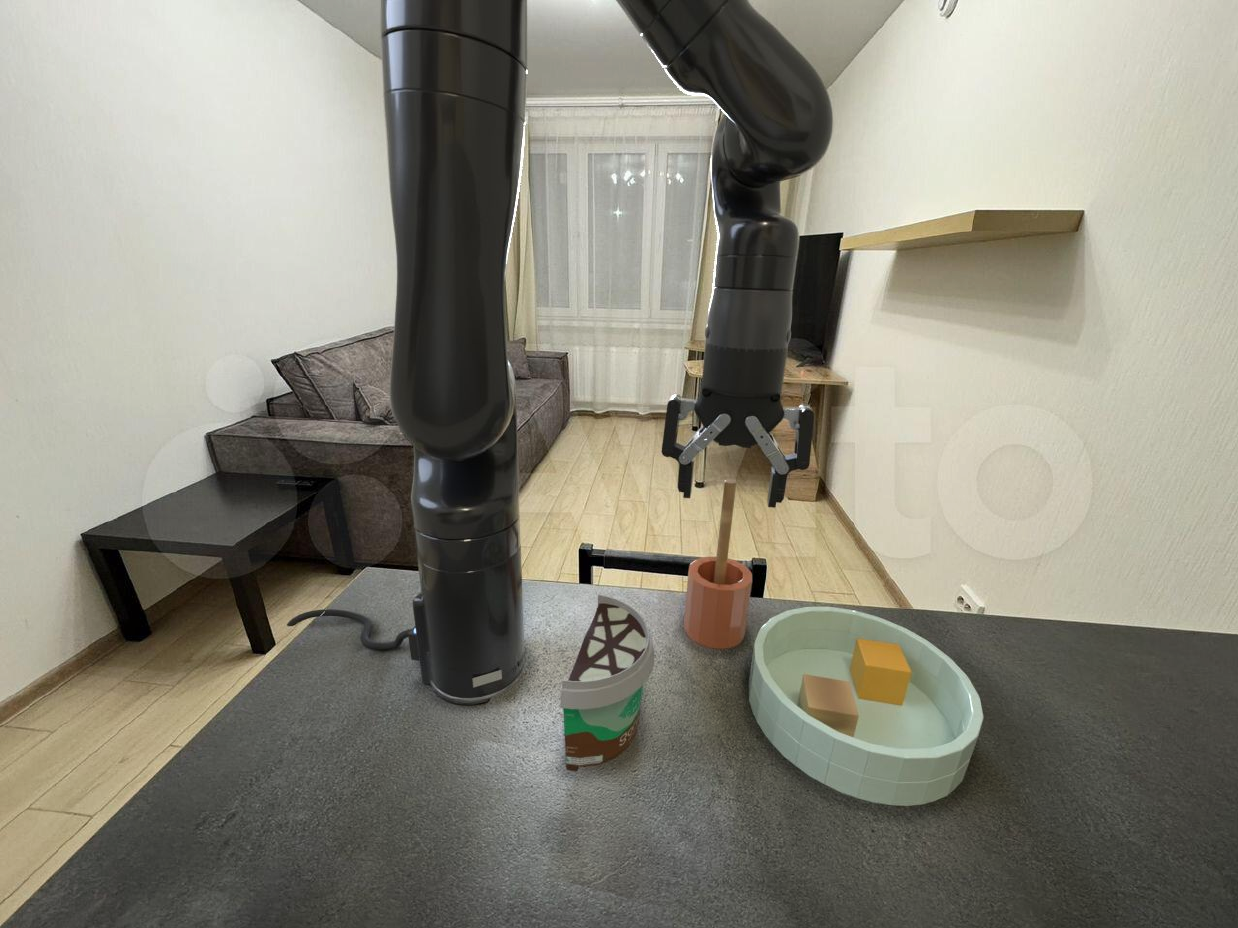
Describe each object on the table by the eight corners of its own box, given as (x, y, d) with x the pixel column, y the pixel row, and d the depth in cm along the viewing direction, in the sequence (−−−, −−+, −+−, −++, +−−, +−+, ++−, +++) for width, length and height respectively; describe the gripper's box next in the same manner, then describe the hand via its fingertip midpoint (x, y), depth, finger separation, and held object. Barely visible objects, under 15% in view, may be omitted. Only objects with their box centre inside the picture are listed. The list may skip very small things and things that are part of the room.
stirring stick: (708, 629, 59) (724, 482, 53) (709, 622, 60) (724, 478, 54) (719, 631, 59) (736, 483, 53) (719, 624, 60) (736, 479, 54)
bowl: (750, 782, 42) (758, 730, 40) (746, 636, 59) (752, 595, 57) (1006, 835, 39) (1029, 781, 37) (924, 664, 56) (936, 621, 54)
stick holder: (680, 647, 57) (686, 584, 54) (686, 610, 64) (691, 552, 61) (744, 658, 56) (753, 594, 53) (743, 619, 62) (751, 560, 60)
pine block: (801, 742, 45) (808, 706, 44) (796, 707, 49) (803, 673, 47) (850, 752, 44) (859, 715, 43) (841, 715, 48) (849, 681, 47)
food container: (637, 802, 40) (643, 700, 37) (560, 785, 41) (559, 685, 38) (658, 686, 52) (664, 600, 48) (597, 676, 53) (599, 591, 49)
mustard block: (857, 698, 50) (866, 665, 49) (849, 669, 54) (856, 637, 52) (902, 706, 49) (912, 672, 48) (890, 676, 53) (899, 644, 52)
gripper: (820, 340, 51) (796, 494, 56) (674, 332, 53) (664, 479, 59) (834, 350, 44) (804, 524, 49) (665, 340, 46) (655, 506, 52)
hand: (728, 500), depth 54 cm, fingers open, 8 cm apart
